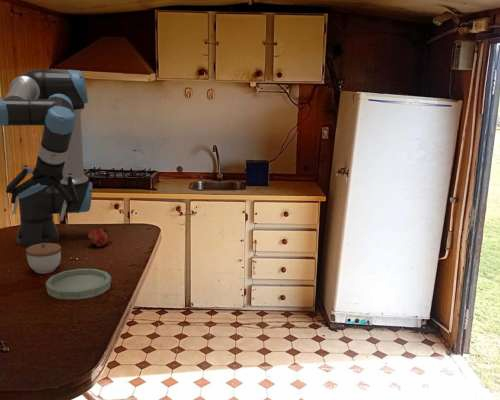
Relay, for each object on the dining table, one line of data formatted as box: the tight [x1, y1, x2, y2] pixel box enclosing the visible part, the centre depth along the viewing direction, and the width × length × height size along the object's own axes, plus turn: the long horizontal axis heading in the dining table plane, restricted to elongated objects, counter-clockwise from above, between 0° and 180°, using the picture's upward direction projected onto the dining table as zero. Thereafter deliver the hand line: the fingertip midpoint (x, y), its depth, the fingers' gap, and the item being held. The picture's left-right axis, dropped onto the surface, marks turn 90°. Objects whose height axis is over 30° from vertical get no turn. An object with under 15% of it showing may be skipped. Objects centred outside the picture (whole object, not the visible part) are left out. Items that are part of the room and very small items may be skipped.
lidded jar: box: [25, 243, 62, 275], centre depth 173 cm, size 11×11×9 cm
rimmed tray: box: [45, 268, 112, 301], centre depth 160 cm, size 18×18×2 cm
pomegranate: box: [86, 228, 108, 248], centre depth 198 cm, size 7×7×10 cm
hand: (38, 214), depth 162 cm, fingers open, 13 cm apart
